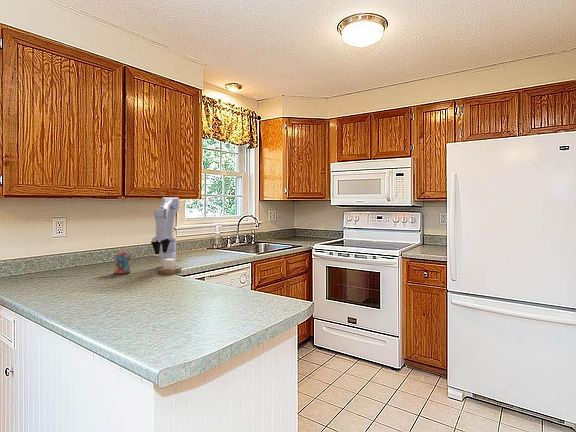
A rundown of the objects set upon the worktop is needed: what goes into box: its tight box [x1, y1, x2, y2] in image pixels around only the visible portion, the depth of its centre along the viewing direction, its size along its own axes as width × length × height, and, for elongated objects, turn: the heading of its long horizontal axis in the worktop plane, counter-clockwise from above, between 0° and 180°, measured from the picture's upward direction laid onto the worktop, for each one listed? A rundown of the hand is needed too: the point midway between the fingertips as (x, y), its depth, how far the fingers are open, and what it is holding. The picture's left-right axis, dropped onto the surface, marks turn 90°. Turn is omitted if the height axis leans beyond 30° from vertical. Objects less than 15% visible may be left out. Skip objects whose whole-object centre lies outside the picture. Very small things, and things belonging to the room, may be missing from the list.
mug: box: [112, 252, 137, 275], centre depth 202 cm, size 12×9×11 cm
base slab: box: [157, 266, 182, 276], centre depth 205 cm, size 9×9×2 cm
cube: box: [162, 258, 177, 269], centre depth 205 cm, size 5×5×5 cm
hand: (160, 253), depth 208 cm, fingers open, 7 cm apart
